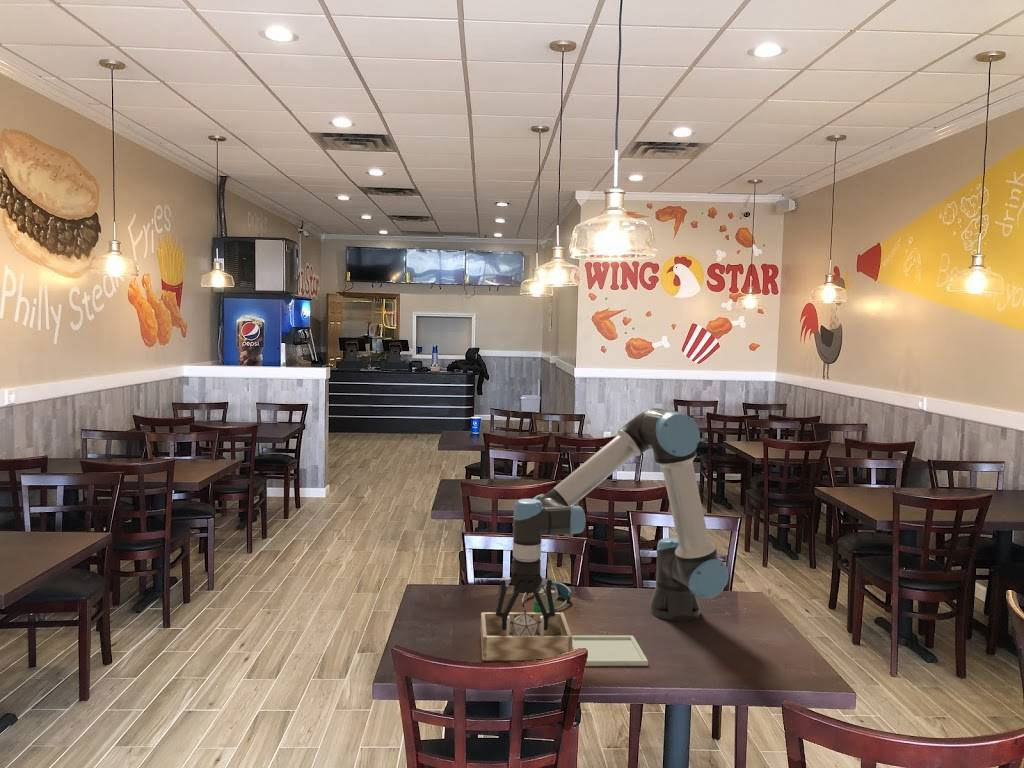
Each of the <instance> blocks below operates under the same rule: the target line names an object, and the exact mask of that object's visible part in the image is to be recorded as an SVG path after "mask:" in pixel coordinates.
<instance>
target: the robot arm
mask: <svg viewBox="0 0 1024 768" xmlns="http://www.w3.org/2000/svg"><path fill="white" fill-rule="evenodd" d="M616 434H617V435H616V436H615V437H614V438H613V439H611V440H610V441H609V442H608V443H607V444H605V445H604V446H602V447H601V449H599V450H598V451H597V452H595V453H594V454H593V455H592V456H591V457H589V459H587V460H586V461H585V462H583V463H581V465H580V466H578V467H577V468H576V469H574V471H572V472H571V473H570V474H569V475H567V476H566V477H565V478H564V479H563V480H561V481H560V482H559V483H558V484H556V485H555V486H554V487H553V488H552V489H551V490H549V491H548V492H546V494H545V493H541V494H538V495H536V496H534V497H533V498H522V499H518V500H517V501H515V502H514V507H513V515H512V516H513V517H512V518H513V538H512V539H513V540H512V557H513V558H512V564H511V565H512V568H511V569H512V570H511V572H512V573H511V575H510V577H506V578H505V577H501V578H500V589H499V590H500V591H499V595H498V599H497V603H496V607H495V612H496V616H500V617H502V629H503V630H506V635H505V636H510V635H509V629H510V618H509V616H508V615H509V613H510V612H511V611H512V609H513V607H514V605H515V602H516V601H517V598H518V597H519V596H520V594H525V593H529V594H532V593H533V594H532V595H533V597H534V596H535V598H536V601H537V603H538V605H539V607H540V610H541V612H542V614H543V616H540V621H541V623H540V635H539V636H545V635H544V630H547V629H548V618H549V617H551V616H555V613H556V611H554V605H553V599H552V593H551V585H552V581H553V580H552V579H551V578H550V577H547V578H545V577H542V576H541V570H542V569H541V566H542V565H541V564H542V563H541V562H542V560H541V557H542V536H559V535H560V536H561V535H563V536H564V535H570V536H571V535H576V534H577V535H578V534H581V533H583V532H584V530H585V528H586V524H587V523H586V521H587V520H586V513H585V510H584V509H583V507H582V506H580V505H576V504H578V502H580V501H581V500H582V499H584V498H585V496H587V495H588V494H589V493H590V492H592V491H593V490H594V489H595V488H596V487H598V486H599V485H600V484H602V483H603V482H604V481H605V480H606V479H607V478H608V477H610V476H611V475H612V474H614V473H615V472H616V471H618V470H619V469H620V468H621V467H622V466H623V465H624V464H626V463H627V462H628V461H629V460H630V459H632V458H633V457H635V456H637V457H640V456H641V455H642V454H643V453H645V452H646V451H648V450H651V449H652V452H653V453H652V454H653V457H654V462H655V463H656V464H657V465H659V466H660V467H661V469H662V473H663V477H664V481H665V487H666V491H667V496H668V497H667V498H668V500H669V502H668V503H669V505H670V510H671V511H670V512H671V515H672V519H673V524H674V529H675V533H676V537H666V538H665V537H664V538H661V539H659V540H658V541H657V545H656V570H655V571H656V573H655V579H656V580H655V588H654V592H653V593H652V596H651V600H650V601H649V606H648V607H649V609H648V610H649V613H650V614H652V615H653V616H654V617H656V618H659V619H662V620H666V621H670V622H671V621H672V622H691V621H694V620H697V619H698V618H700V616H701V607H700V604H699V600H698V597H699V598H701V599H713V598H714V597H717V596H718V595H720V594H721V593H722V592H723V591H724V589H725V587H726V586H727V584H728V583H729V578H730V577H729V569H728V567H727V566H726V564H725V562H723V561H722V560H721V559H719V556H718V549H717V547H716V544H715V542H712V541H711V540H709V534H708V530H707V524H706V520H705V515H704V510H703V506H702V501H701V496H700V491H699V486H698V481H697V477H696V473H695V468H694V463H693V461H694V460H695V458H696V457H697V448H698V444H699V443H700V440H701V438H700V436H701V434H700V429H699V427H698V424H697V423H696V421H695V420H694V419H693V418H692V417H690V416H689V415H688V414H686V413H683V412H680V411H677V410H668V409H664V408H663V409H662V408H659V407H657V408H650V409H647V410H644V411H642V412H640V413H639V414H637V415H635V417H633V418H632V419H630V420H629V421H628V422H627V423H625V424H623V426H622V427H621V428H619V429H618V430H617V433H616ZM541 582H542V583H543V585H544V587H546V594H547V599H548V605H549V611H546V609H545V607H544V604H543V602H542V600H541V598H540V595H539V593H538V591H537V588H538V586H539V585H540V584H541ZM510 583H511V584H512V586H513V587H514V588H513V590H512V592H511V594H510V597H509V598H508V600H507V603H506V605H505V607H504V609H503V605H504V600H505V596H506V592H507V587H509V585H510Z"/></svg>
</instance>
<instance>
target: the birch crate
mask: <svg viewBox="0 0 1024 768" xmlns="http://www.w3.org/2000/svg"><path fill="white" fill-rule="evenodd" d="M524 613H525V612H524V611H523V612H517V611H516V612H513V611H512V612H511V611H510V613H509V615H508V616H509V618H510V622H513V621H514V619H515V617H514V615H516V617H517V616H519V615H521V614H524ZM526 613H527V614H528V615H530V616H532V615H533V616H534V617H533V618H534V619H535V620H536V621H537V622H539V621H540V616H543V614H542V613H534V612H527V611H526ZM511 629H512V624H511V623H510V629H509V633H511ZM538 633H539V635H538V634H537V635H536V636H513V635H512V634H511V635H509V636H506V630H503V629H502V617H500V616H496V611H495V612H492V611H491V612H489V611H488V612H480V644H481V646H480V647H481V660H482V661H537V660H536V659H544V658H548V657H553V656H558V655H561V654H563V653H566V652H570V651H572V635H573V634H572V633H571V630H570V627H569V624H568V622H567V619H566V617H565V614H564V612H555V616H551V617H549V618H548V629H547V630H544V636H540V623H539V624H538ZM572 652H573V651H572Z"/></svg>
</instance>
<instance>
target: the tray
mask: <svg viewBox="0 0 1024 768" xmlns="http://www.w3.org/2000/svg"><path fill="white" fill-rule="evenodd" d="M571 635H572V650H575V649H578V648H586V649H587V650H588V658H587V664H586V666H585V667H592V666H593V667H600V666H602V667H605V666H607V667H608V666H609V667H610V666H611V667H614V666H616V667H618V666H620V667H621V666H622V667H627V666H628V667H631V666H632V667H633V666H635V667H636V666H637V667H638V666H640V667H641V666H642V667H643V666H649V660H648V659H647V657H646V654H645V653H644V652H643V650H642V649H641V647H640V645H639V643H638V641H637V640H636V638H635V637H634V635H605V634H604V635H595V634H594V635H593V634H592V635H591V634H590V635H583V634H582V635H579V634H578V635H573V634H571Z"/></svg>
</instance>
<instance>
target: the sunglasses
mask: <svg viewBox="0 0 1024 768" xmlns="http://www.w3.org/2000/svg"><path fill="white" fill-rule="evenodd" d="M551 581H552V585H553V586H555V587H556V589H557V591H558V597H560V598H563V599H565V600H564V602H563V603H562V604H561V605H559V606H558V607H555V612H556V611H559V610H560V609H562V608H563V607H565V606H566V604H568V603H569V602H571V599H572V591H571V589H570V588H569V587H568V586H567V585H566V584H564V583H562V582H560V581H555V580H551ZM541 583H542V582H541ZM539 589H540V585H539V586H538V588H537V591H538V590H539ZM531 594H532V595H534V594H533V593H531ZM528 595H530V593H523V596H522V607H524V604H525V603H524V600H525V598H526V597H528Z"/></svg>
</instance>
